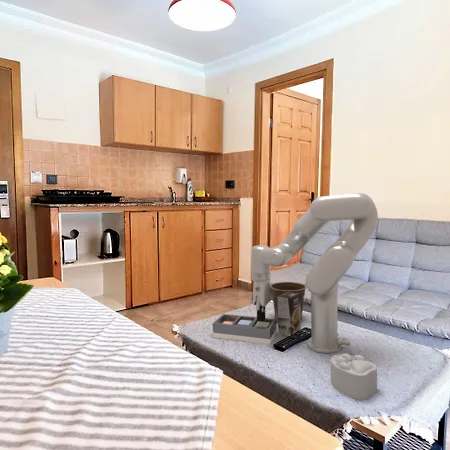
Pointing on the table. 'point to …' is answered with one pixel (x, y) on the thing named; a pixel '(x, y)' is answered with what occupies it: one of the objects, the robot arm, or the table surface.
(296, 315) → the coffee box
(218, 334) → the base
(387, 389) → the table surface
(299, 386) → the table surface
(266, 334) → the frame
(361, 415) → the table surface
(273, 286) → the plant pot
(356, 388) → the lumpy-topped squat cylinder
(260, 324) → the key sage
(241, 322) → the key slate
